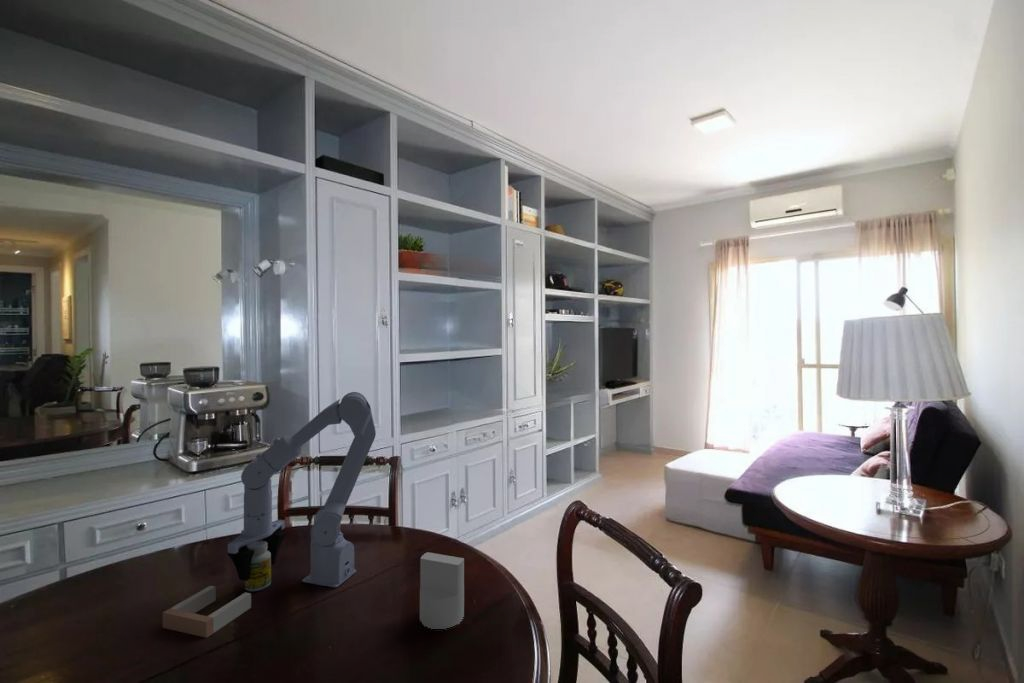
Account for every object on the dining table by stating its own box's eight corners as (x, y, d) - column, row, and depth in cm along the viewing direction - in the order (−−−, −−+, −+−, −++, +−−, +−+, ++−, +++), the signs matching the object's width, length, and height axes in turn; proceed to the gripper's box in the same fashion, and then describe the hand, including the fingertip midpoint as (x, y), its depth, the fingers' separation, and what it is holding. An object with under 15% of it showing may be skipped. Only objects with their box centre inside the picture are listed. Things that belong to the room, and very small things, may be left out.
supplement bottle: (269, 577, 112) (269, 537, 112) (272, 587, 108) (272, 545, 108) (243, 584, 109) (243, 542, 109) (245, 594, 105) (245, 551, 105)
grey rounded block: (471, 609, 100) (471, 552, 100) (452, 634, 91) (452, 572, 91) (433, 601, 103) (433, 546, 103) (411, 624, 94) (411, 564, 94)
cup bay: (251, 607, 100) (251, 593, 100) (206, 637, 90) (206, 622, 90) (210, 599, 103) (210, 585, 103) (162, 627, 93) (162, 612, 93)
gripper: (268, 500, 117) (267, 555, 117) (216, 522, 103) (216, 584, 103) (291, 503, 115) (291, 559, 115) (242, 525, 101) (242, 589, 101)
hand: (257, 571), depth 109 cm, fingers open, 7 cm apart
